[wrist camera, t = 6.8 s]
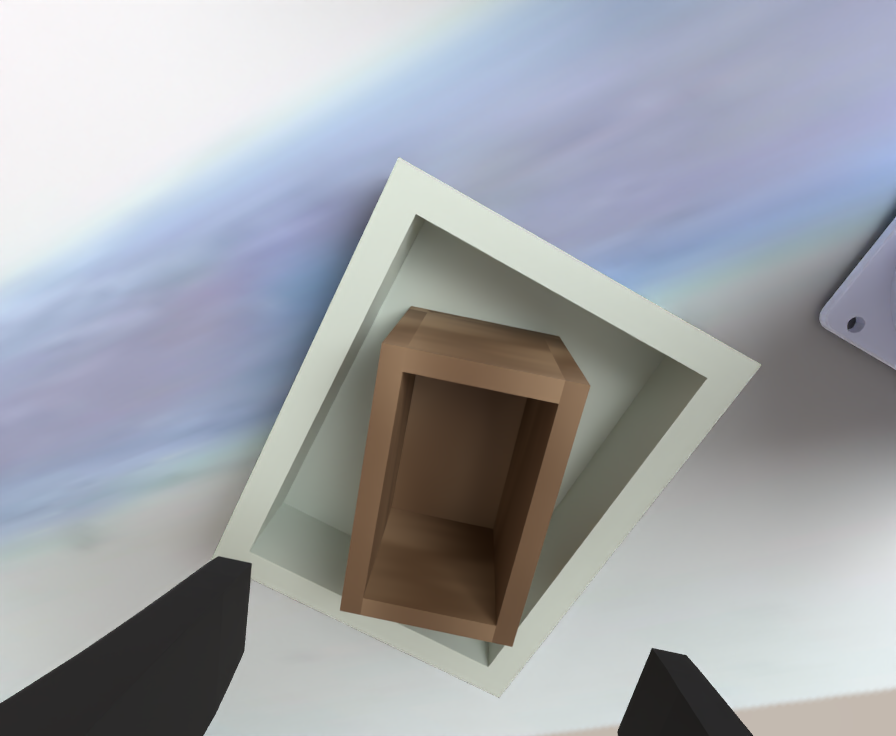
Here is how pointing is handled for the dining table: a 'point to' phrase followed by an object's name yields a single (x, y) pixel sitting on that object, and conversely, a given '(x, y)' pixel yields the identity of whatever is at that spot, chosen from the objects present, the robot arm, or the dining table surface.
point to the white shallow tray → (503, 302)
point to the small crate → (460, 473)
